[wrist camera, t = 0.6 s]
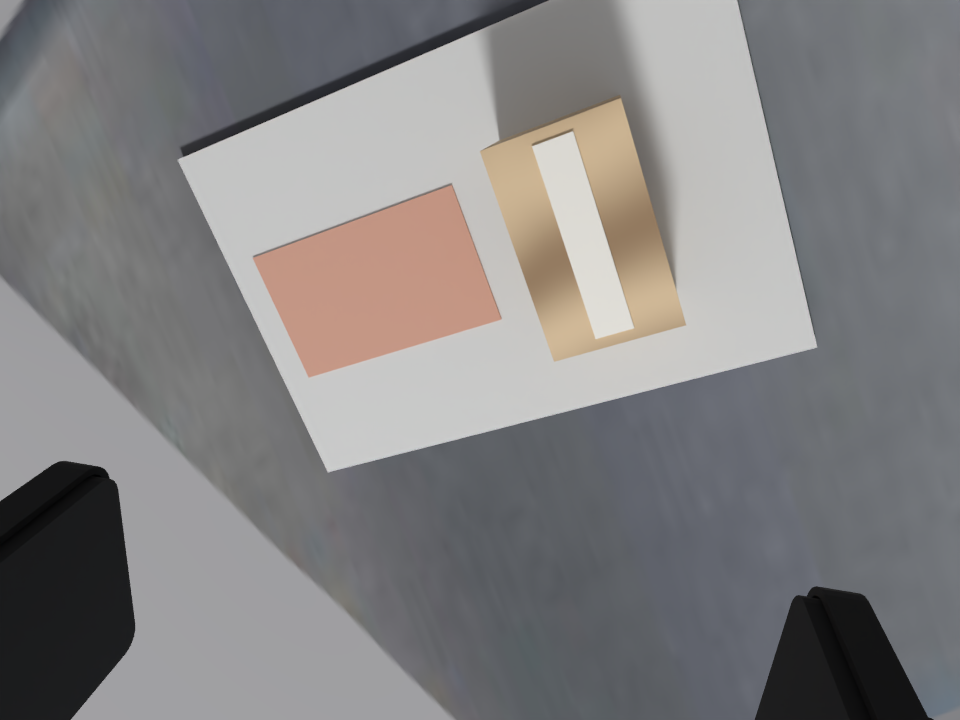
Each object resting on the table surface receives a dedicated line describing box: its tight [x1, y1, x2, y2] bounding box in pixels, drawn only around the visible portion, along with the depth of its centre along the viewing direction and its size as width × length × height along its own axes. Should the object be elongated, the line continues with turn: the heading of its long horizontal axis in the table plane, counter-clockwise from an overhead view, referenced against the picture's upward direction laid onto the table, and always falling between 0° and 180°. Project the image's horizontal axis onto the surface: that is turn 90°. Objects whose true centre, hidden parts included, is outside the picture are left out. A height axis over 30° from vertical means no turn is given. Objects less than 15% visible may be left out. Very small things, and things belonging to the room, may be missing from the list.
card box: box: [480, 95, 686, 362], centre depth 30 cm, size 9×6×5 cm, turn 20°
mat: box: [178, 0, 817, 472], centre depth 34 cm, size 26×18×1 cm
